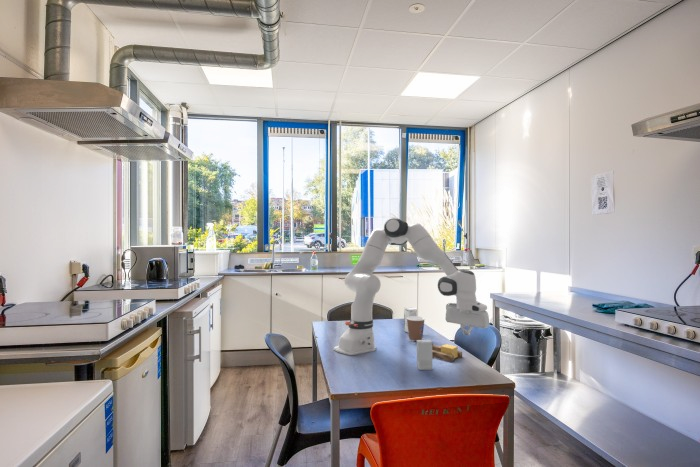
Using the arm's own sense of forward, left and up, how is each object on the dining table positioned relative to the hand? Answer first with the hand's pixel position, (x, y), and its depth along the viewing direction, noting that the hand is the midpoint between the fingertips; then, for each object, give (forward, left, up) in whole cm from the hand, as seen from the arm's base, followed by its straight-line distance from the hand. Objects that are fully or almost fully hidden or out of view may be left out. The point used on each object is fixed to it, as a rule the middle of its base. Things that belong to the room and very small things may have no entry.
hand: (466, 334), depth 170 cm
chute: (-1, +12, -12) cm, 17 cm away
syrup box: (+26, +49, -13) cm, 57 cm away
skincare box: (-22, +8, -13) cm, 27 cm away
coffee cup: (+14, +37, -13) cm, 42 cm away
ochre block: (-1, +8, -12) cm, 15 cm away
